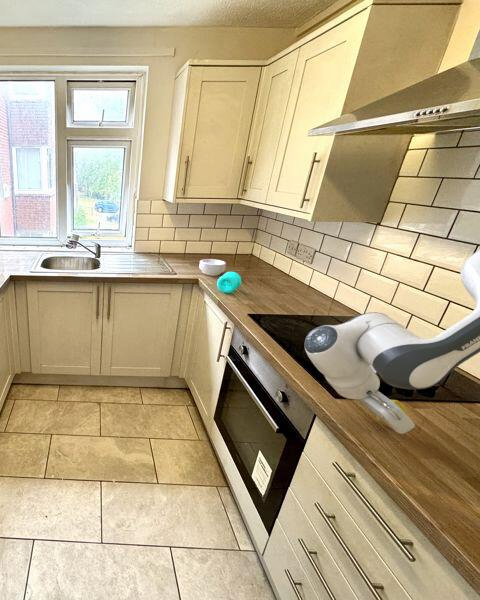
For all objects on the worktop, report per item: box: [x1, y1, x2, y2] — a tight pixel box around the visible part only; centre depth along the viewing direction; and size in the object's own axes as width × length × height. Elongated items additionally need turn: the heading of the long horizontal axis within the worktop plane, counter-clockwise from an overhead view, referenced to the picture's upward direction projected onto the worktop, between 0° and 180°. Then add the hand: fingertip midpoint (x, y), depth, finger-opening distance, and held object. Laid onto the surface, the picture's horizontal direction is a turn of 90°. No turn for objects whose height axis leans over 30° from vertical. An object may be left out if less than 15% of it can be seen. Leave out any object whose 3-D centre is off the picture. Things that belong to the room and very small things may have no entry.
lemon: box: [375, 398, 409, 428], centre depth 79 cm, size 6×6×8 cm
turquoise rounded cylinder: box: [216, 271, 242, 294], centre depth 168 cm, size 10×10×10 cm
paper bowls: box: [198, 258, 227, 277], centre depth 197 cm, size 15×15×8 cm
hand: (379, 411), depth 78 cm, fingers closed, pressing on lemon
